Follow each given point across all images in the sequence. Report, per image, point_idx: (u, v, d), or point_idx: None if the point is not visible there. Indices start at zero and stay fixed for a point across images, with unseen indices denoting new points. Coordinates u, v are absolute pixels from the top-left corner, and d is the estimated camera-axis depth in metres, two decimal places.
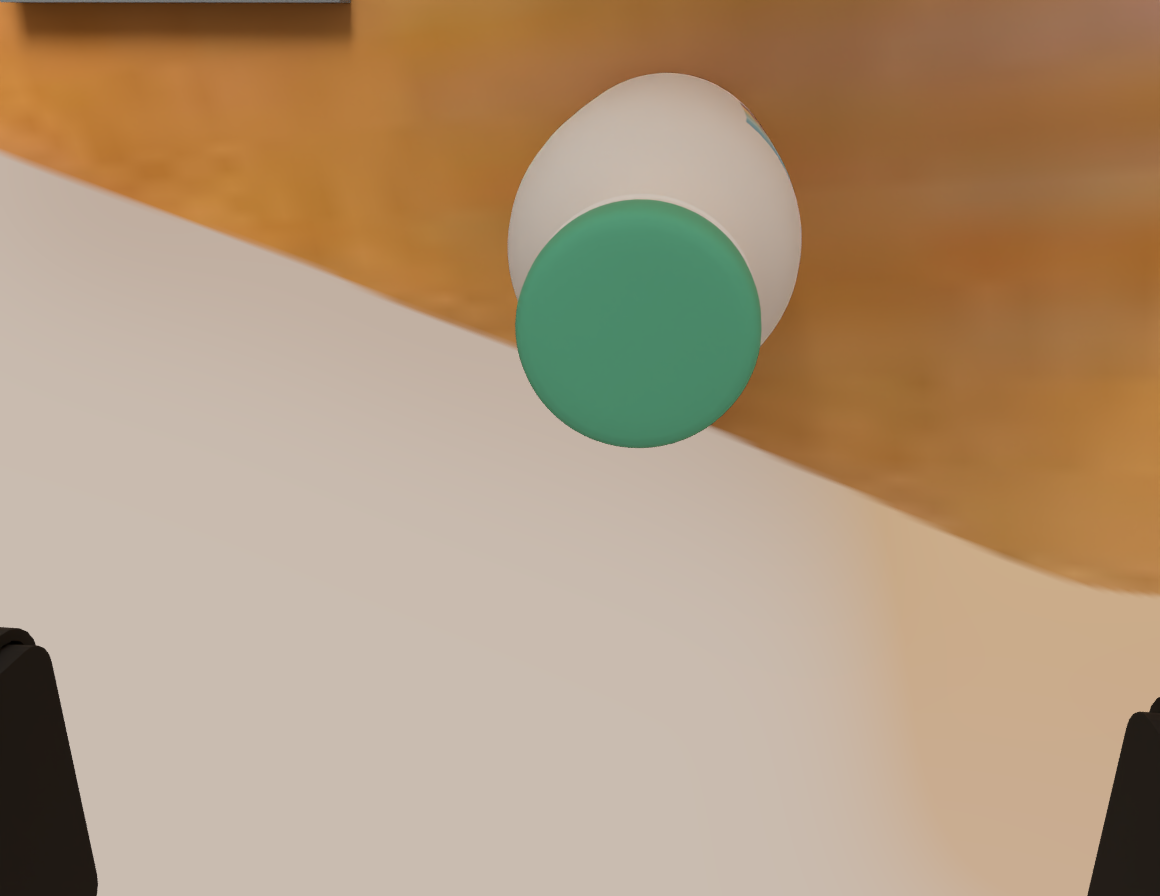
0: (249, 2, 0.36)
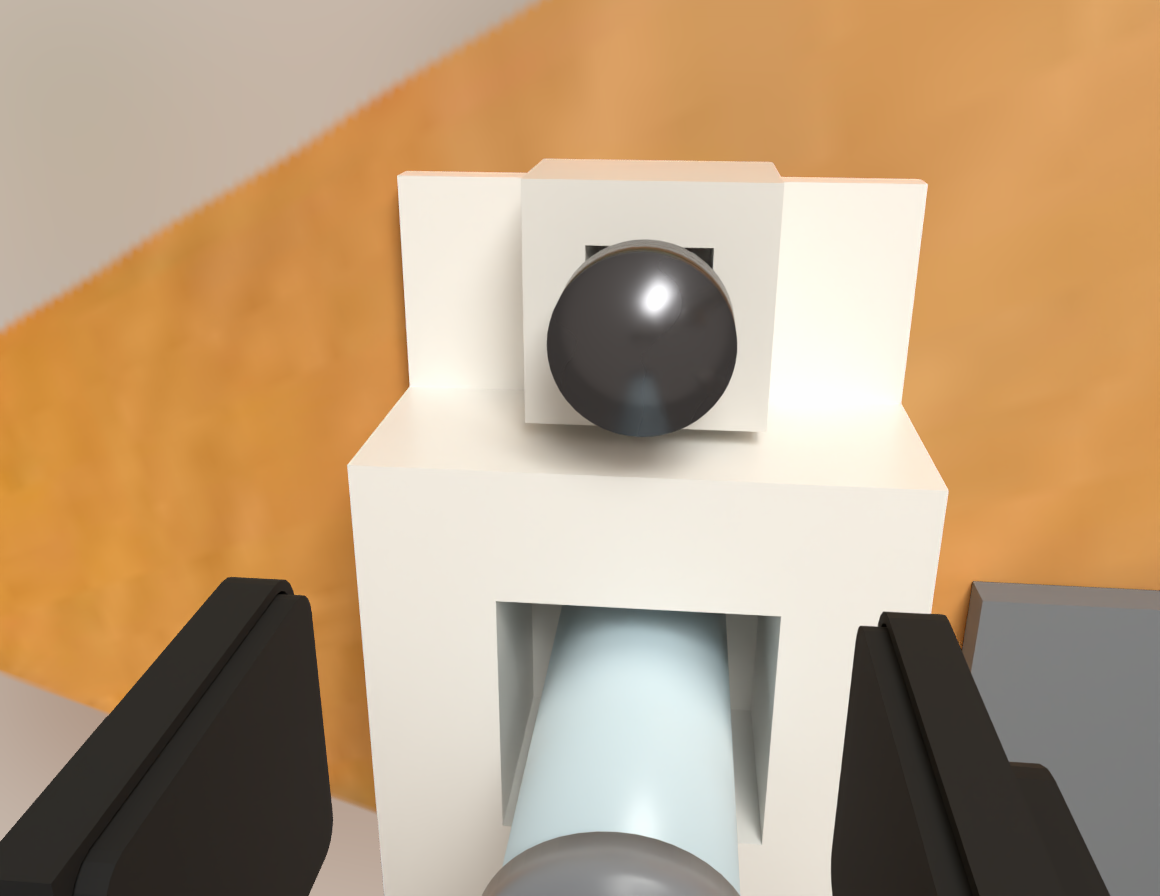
0: None
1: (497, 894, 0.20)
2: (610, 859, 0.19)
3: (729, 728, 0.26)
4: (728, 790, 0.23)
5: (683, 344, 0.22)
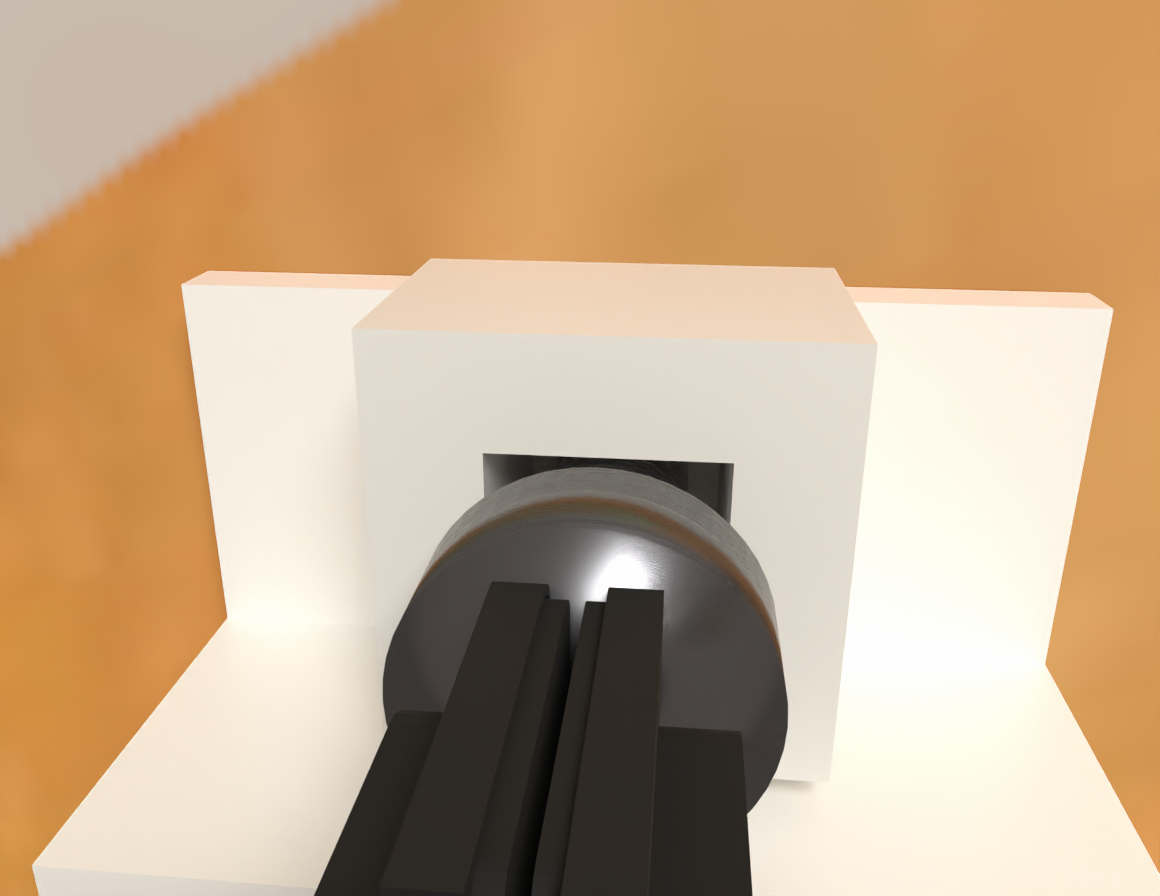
0: None
1: None
2: None
3: None
4: None
5: (671, 710, 0.10)
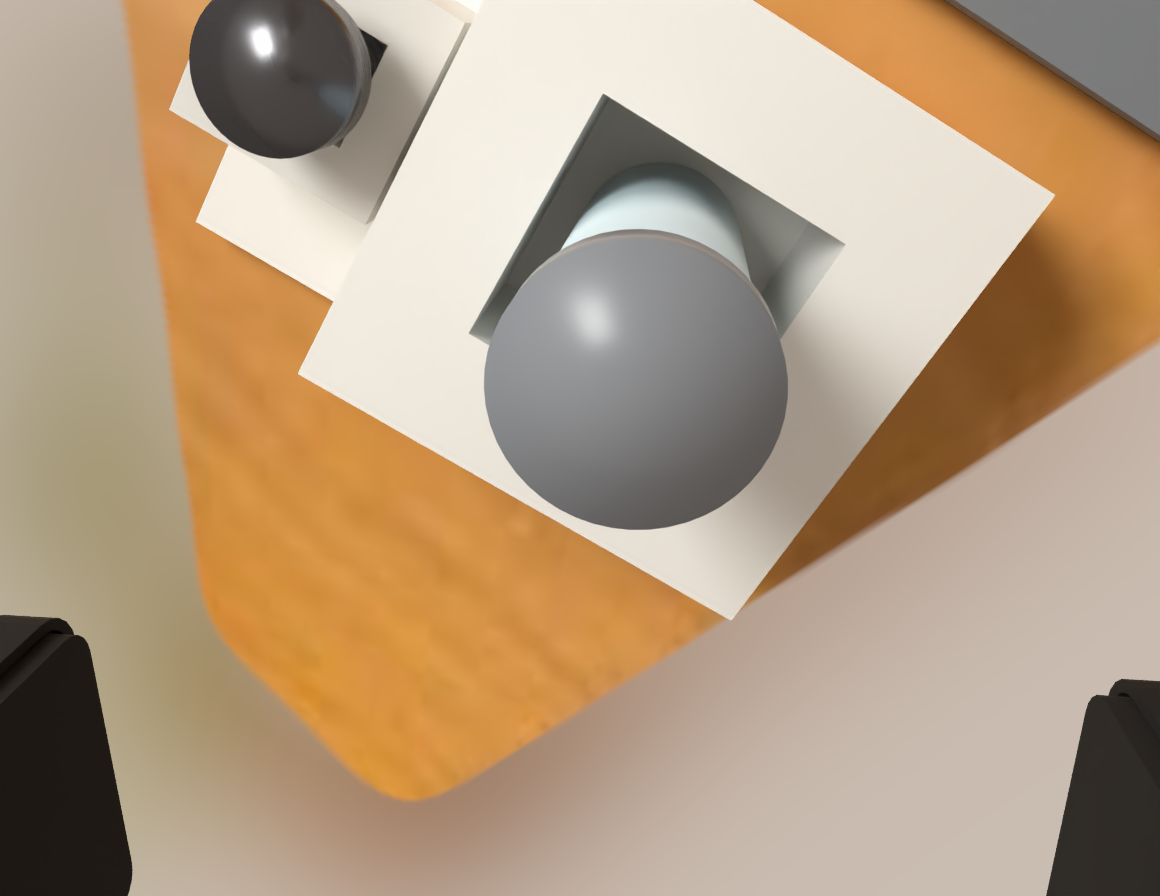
0: None
1: None
2: None
3: (676, 199, 0.25)
4: (658, 214, 0.23)
5: (281, 34, 0.25)
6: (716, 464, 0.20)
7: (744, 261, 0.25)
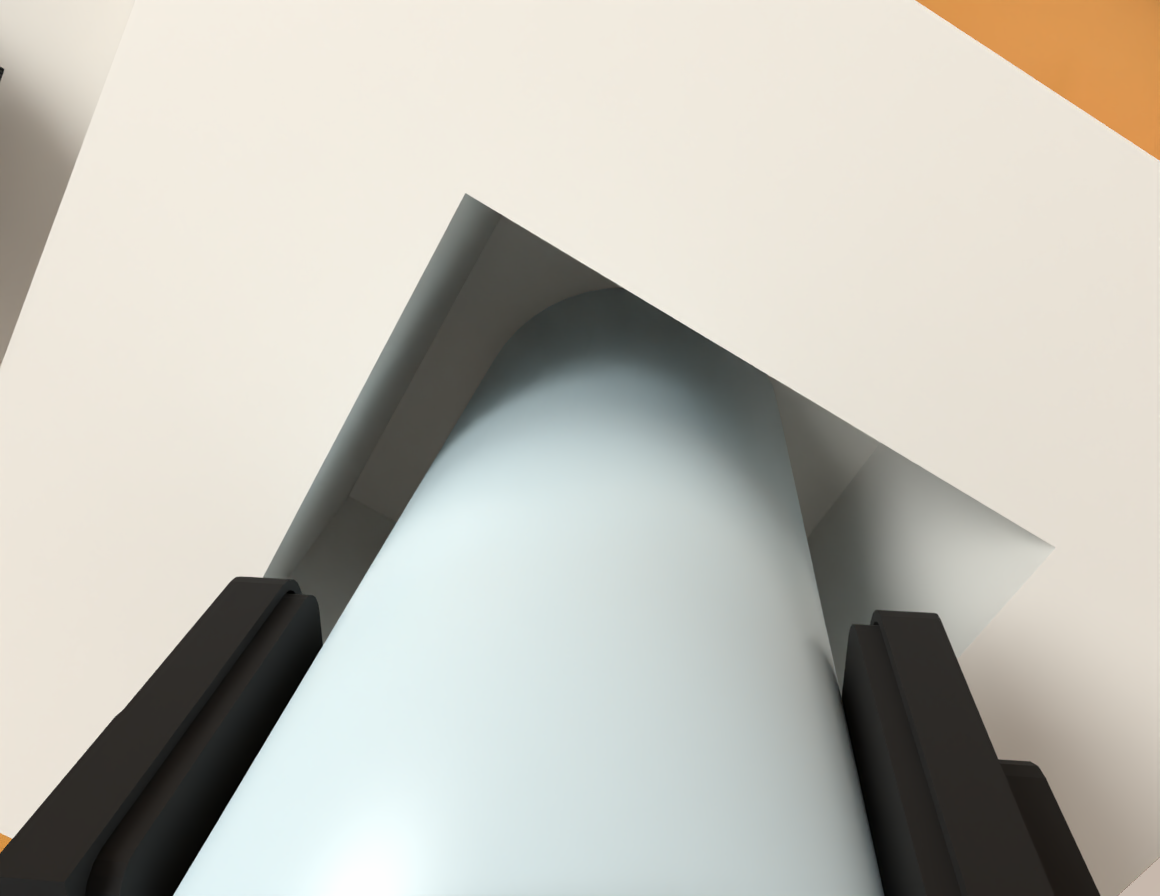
0: None
1: None
2: None
3: (647, 457, 0.10)
4: (586, 588, 0.08)
5: None
6: None
7: (820, 622, 0.10)
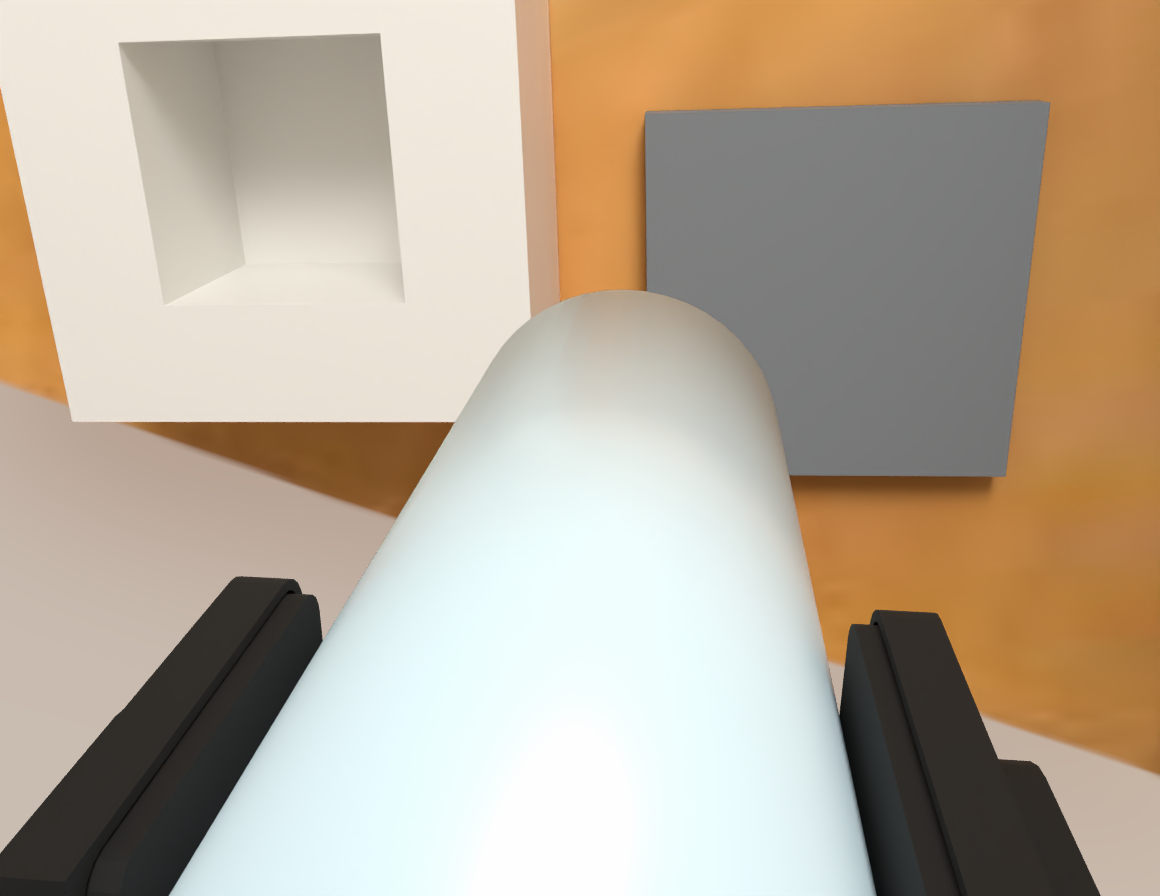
0: None
1: None
2: None
3: (642, 460, 0.10)
4: (579, 591, 0.08)
5: None
6: None
7: (814, 624, 0.10)
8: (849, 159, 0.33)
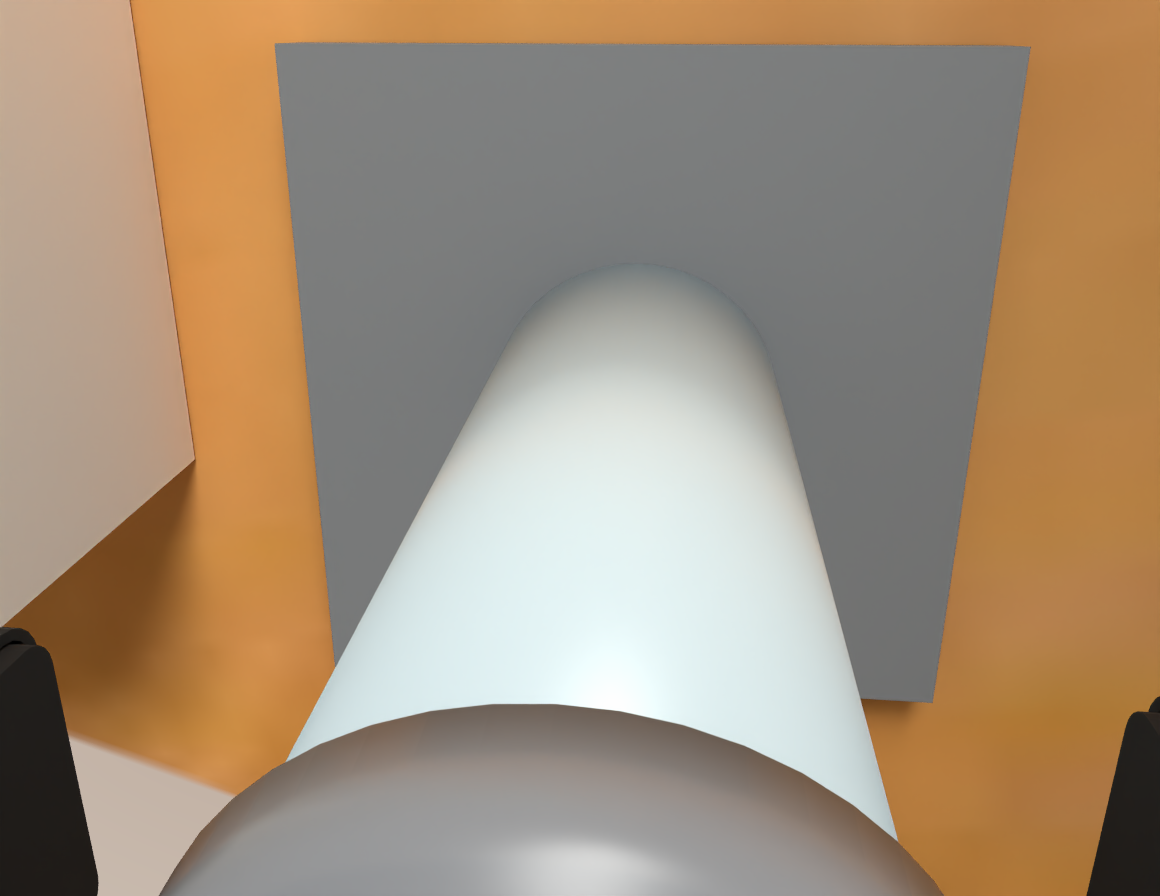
0: None
1: None
2: None
3: (666, 401, 0.12)
4: (624, 495, 0.09)
5: None
6: None
7: (815, 540, 0.12)
8: (653, 143, 0.17)
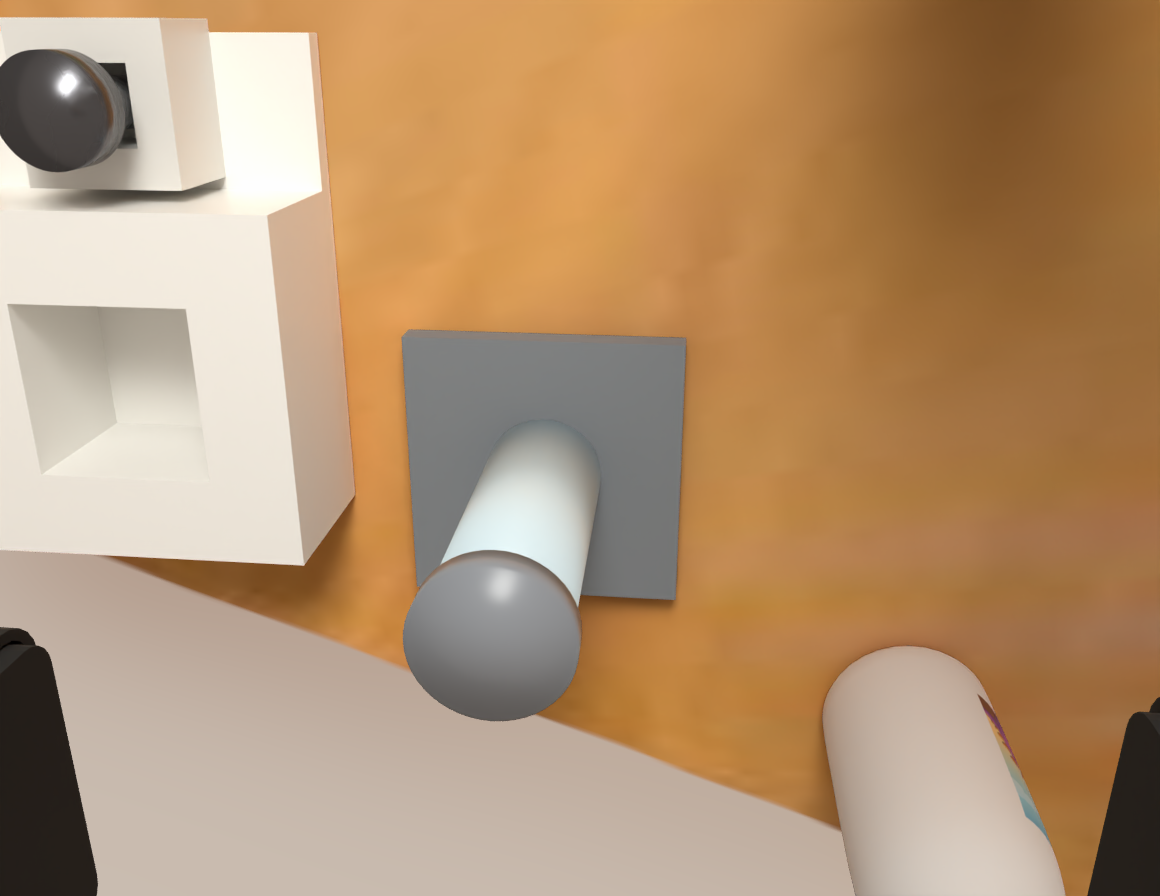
0: None
1: None
2: (415, 597, 0.34)
3: (537, 483, 0.39)
4: (518, 512, 0.37)
5: (70, 109, 0.36)
6: (540, 686, 0.34)
7: (580, 525, 0.39)
8: (548, 375, 0.45)
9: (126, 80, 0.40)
